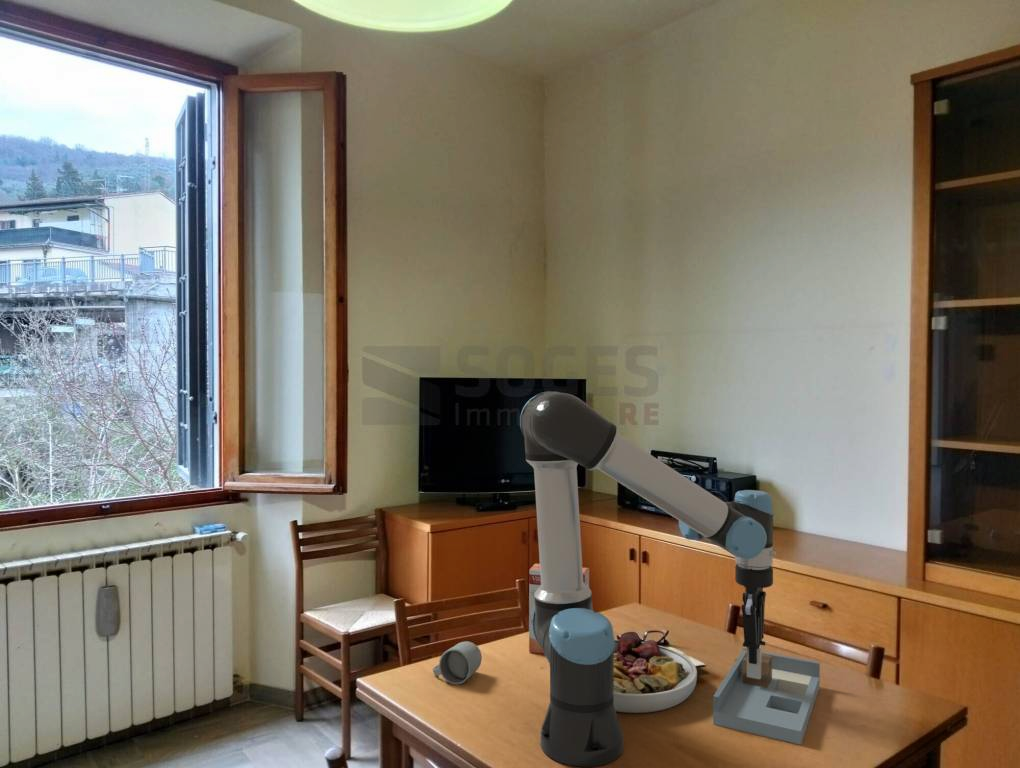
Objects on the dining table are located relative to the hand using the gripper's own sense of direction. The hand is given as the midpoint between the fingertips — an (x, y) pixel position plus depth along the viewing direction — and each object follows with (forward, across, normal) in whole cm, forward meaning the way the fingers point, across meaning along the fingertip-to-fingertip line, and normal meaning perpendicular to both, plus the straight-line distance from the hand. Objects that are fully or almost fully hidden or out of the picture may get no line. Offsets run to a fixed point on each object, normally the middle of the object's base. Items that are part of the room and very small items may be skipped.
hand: (754, 676), depth 151 cm
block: (+2, +3, 0) cm, 4 cm away
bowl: (+5, -8, +26) cm, 27 cm away
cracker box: (+5, +2, +47) cm, 47 cm away
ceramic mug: (+5, -22, +61) cm, 65 cm away
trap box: (+5, -2, -3) cm, 6 cm away
